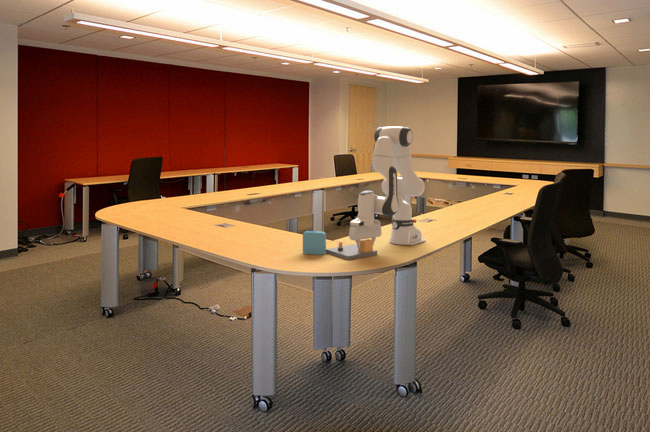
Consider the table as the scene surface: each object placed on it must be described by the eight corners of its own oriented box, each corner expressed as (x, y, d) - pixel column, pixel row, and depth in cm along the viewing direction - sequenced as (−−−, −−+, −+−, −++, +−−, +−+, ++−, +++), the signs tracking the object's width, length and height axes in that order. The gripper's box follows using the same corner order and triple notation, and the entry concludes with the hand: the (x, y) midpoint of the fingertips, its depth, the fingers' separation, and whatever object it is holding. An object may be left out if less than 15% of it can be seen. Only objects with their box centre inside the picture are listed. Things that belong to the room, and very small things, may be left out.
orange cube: (365, 249, 281) (366, 238, 280) (372, 251, 276) (372, 240, 275) (358, 250, 278) (358, 239, 277) (364, 252, 273) (365, 241, 272)
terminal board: (353, 247, 293) (353, 236, 292) (377, 254, 277) (377, 242, 276) (325, 252, 281) (325, 241, 280) (348, 260, 265) (348, 247, 264)
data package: (325, 253, 281) (325, 231, 278) (324, 255, 276) (324, 233, 274) (304, 252, 283) (304, 230, 281) (302, 254, 278) (302, 232, 276)
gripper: (376, 218, 283) (375, 243, 285) (347, 222, 271) (347, 247, 273) (384, 220, 278) (383, 245, 280) (355, 223, 266) (354, 250, 268)
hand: (365, 246), depth 276 cm, fingers open, 8 cm apart
